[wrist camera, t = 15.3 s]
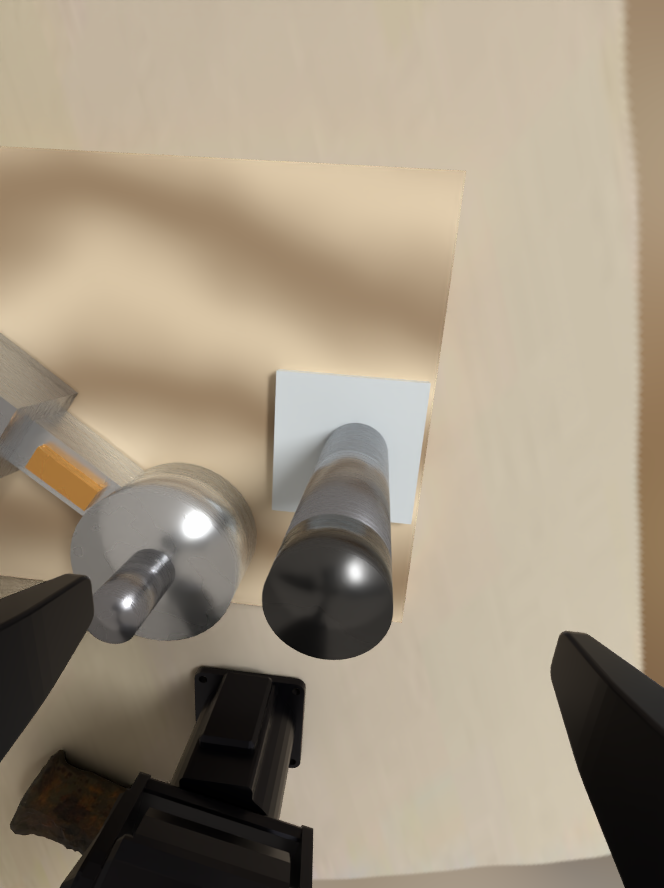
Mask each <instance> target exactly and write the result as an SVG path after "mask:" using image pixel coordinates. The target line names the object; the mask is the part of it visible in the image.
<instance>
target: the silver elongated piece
mask: <svg viewBox="0 0 664 888" xmlns="http://www.w3.org/2000/svg"><path fill="white" fill-rule="evenodd" d="M77 394H78V392H76V391H75V390H74V389H72V388H71V387H70V386H69V385H67V384H66V383H65V382H63V381H62V380H61V379H60V378H58V377H57V376H56V375H54V374H53V373H52V372H51V371H49V370H48V369H47V368H45V367H44V366H43V365H42V364H40V363H39V362H38V361H36V360H35V359H34V358H32V357H31V356H30V355H29V354H27V353H26V352H25V351H23V350H22V349H21V348H20V347H18V346H17V345H16V344H14V343H13V342H12V341H11V340H9V339H8V338H7V337H5V336H4V335H3V334H2V333H0V478H3V477H5V476H7V475H9V474H12V473H14V472H16V471H19V470H21V471H22V472H24V473H25V474H26V475H28V476H29V477H31V478H32V479H33V480H35V481H36V482H37V483H39V484H40V485H41V486H43V487H44V488H45V489H47V490H48V491H50V492H51V493H52V494H54V495H55V496H56V497H58V498H59V499H60V500H62V501H63V502H65V503H66V504H67V505H69V506H70V507H71V508H73V509H74V510H75V511H77V512H78V513H79V514H81V515H82V516H83V517H82V518H81V519H80V521H79V523H78V524H77V526H76V528H75V531H74V533H73V536H72V541H71V549H70V557H71V565H72V570H73V574H80V575H86V576H88V577H89V578H90V580H91V584H92V593H93V602H94V617H93V620H92V623H91V625H90V626H89V628H88V631H89V632H90V633H91V634H92V635H93V636H94V637H96V638H97V639H99V640H101V641H104V642H107V643H112V644H119V643H124V642H126V641H128V640H130V639H131V638H132V637H133V636H134V635H137V636H140V637H144V638H148V639H154V640H165V641H170V640H181V639H186V638H190V637H193V636H196V635H198V634H200V633H202V632H204V631H206V630H207V629H209V628H210V627H212V626H213V625H214V624H215V623H216V622H218V621H219V620H220V618H221V617H222V616H223V615H224V613H225V612H226V610H227V608H228V607H229V605H230V603H231V601H232V599H233V597H234V595H235V592H236V590H237V588H238V586H239V584H240V582H241V580H242V578H243V576H244V574H245V572H246V570H247V568H248V566H249V564H250V562H251V560H252V557H253V555H254V552H255V547H256V540H257V533H256V525H255V520H254V517H253V514H252V511H251V509H250V507H249V505H248V503H247V502H246V500H245V499H244V497H243V496H242V494H241V493H240V492H239V491H238V490H237V489H236V488H235V486H233V485H232V484H231V483H230V482H229V481H228V480H226V479H225V478H223V477H222V476H221V475H219V474H217V473H215V472H213V471H212V470H209V469H207V468H204V467H202V466H198V465H194V464H189V463H166V464H161V465H157V466H154V467H152V468H149V469H147V470H146V471H144V470H143V469H142V468H141V467H139V466H138V465H137V464H135V463H134V462H133V461H131V460H130V459H129V458H127V457H126V456H125V455H124V454H122V453H121V452H120V451H118V450H117V449H116V448H114V447H113V446H112V445H111V444H109V443H108V442H107V441H105V440H104V439H103V438H101V437H100V436H99V435H98V434H96V433H95V432H94V431H92V430H91V429H90V428H88V427H87V426H86V425H85V424H83V423H82V422H81V421H79V420H78V419H77V418H75V417H74V416H73V415H71V414H70V413H69V412H68V411H67V410H68V408H69V407H70V405H71V403H72V402H73V400H74V399H75V397H76V396H77Z"/></svg>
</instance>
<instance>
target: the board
mask: <svg viewBox="0 0 664 888" xmlns="http://www.w3.org/2000/svg"><path fill="white" fill-rule="evenodd" d="M465 176H466V171H460V170H441V169H422V168H403V167H384V166H365V165H346V164H327V163H308V162H289V161H269V160H250V159H231V158H212V157H193V156H174V155H155V154H136V153H117V152H98V151H79V150H60V149H41V148H22V147H3V146H0V333H2V334H3V335H4V336H5V337H7V338H8V339H9V340H11V341H12V342H13V343H14V344H16V345H17V346H18V347H20V348H21V349H22V350H23V351H25V352H26V353H27V354H29V355H30V356H31V357H32V358H34V359H35V360H36V361H38V362H39V363H40V364H42V365H43V366H44V367H45V368H47V369H48V370H49V371H51V372H52V373H53V374H54V375H56V376H57V377H58V378H60V379H61V380H62V381H63V382H65V383H66V384H67V385H69V386H70V387H71V388H72V389H74V390H75V391H76V392H78V394H77V396H76V397H75V399H74V400H73V402H72V403H71V405H70V407H69V408H68V410H67V411H68V412H69V413H70V414H71V415H73V416H74V417H75V418H77V419H78V420H79V421H81V422H82V423H83V424H85V425H86V426H87V427H88V428H90V429H91V430H92V431H94V432H95V433H96V434H98V435H99V436H100V437H101V438H103V439H104V440H105V441H107V442H108V443H109V444H111V445H112V446H113V447H114V448H116V449H117V450H118V451H120V452H121V453H122V454H124V455H125V456H126V457H127V458H129V459H130V460H131V461H133V462H134V463H135V464H137V465H138V466H139V467H141V468H142V469H143V470H144V471H146V470H147V469H149V468H152V467H154V466H157V465H161V464H166V463H189V464H194V465H198V466H202V467H204V468H207V469H209V470H212V471H213V472H215V473H217V474H219V475H221V476H222V477H223V478H225V479H226V480H228V481H229V482H230V483H231V484H232V485H233V486H235V488H236V489H237V490H238V491H239V492H240V493H241V494H242V496H243V497H244V499H245V500H246V502H247V503H248V505H249V507H250V509H251V511H252V514H253V517H254V520H255V525H256V533H257V540H256V547H255V552H254V555H253V557H252V560H251V562H250V564H249V566H248V568H247V570H246V572H245V574H244V576H243V578H242V580H241V582H240V584H239V586H238V588H237V590H236V592H235V595H234V597H233V599H232V601H231V603H239V604H247V605H256V606H262V591H263V587H264V583H265V581H266V578H267V576H268V574H269V572H270V569H271V567H272V565H273V562H274V560H275V558H276V555H277V553H278V551H279V549H280V546H281V544H282V542H283V539H284V537H285V535H286V532H287V530H288V528H289V526H290V523H291V521H292V519H293V516H294V514H295V512H287V511H277V510H272V488H273V458H274V427H275V396H276V371H277V370H278V369H286V370H298V371H310V372H322V373H334V374H346V375H358V376H370V377H382V378H394V379H406V380H418V381H429V382H430V383H431V386H430V393H429V400H428V407H427V414H426V422H425V429H424V436H423V443H422V450H421V458H420V465H419V472H418V479H417V486H416V493H415V501H414V508H413V515H412V522H411V524H403V523H393V522H391V552H392V582H393V617H392V622H400V623H402V617H403V610H404V603H405V596H406V589H407V582H408V575H409V568H410V561H411V554H412V547H413V540H414V533H415V526H416V519H417V512H418V505H419V498H420V491H421V484H422V477H423V470H424V463H425V456H426V449H427V442H428V435H429V428H430V421H431V414H432V407H433V400H434V393H435V386H436V379H437V372H438V365H439V358H440V351H441V344H442V337H443V330H444V323H445V316H446V309H447V302H448V295H449V288H450V281H451V274H452V267H453V260H454V253H455V246H456V239H457V232H458V225H459V218H460V211H461V204H462V197H463V190H464V183H465ZM82 517H83V516H82V515H81V514H79V513H78V512H77V511H75V510H74V509H73V508H71V507H70V506H69V505H67V504H66V503H65V502H63V501H62V500H60V499H59V498H58V497H56V496H55V495H54V494H52V493H51V492H50V491H48V490H47V489H45V488H44V487H43V486H41V485H40V484H39V483H37V482H36V481H35V480H33V479H32V478H31V477H29V476H28V475H26V474H25V473H24V472H22V471H21V470H19V471H16V472H14V473H12V474H9V475H7V476H5V477H3V478H0V575H1V576H10V577H18V578H27V579H35V580H44V581H48V580H51V579H53V578H56V577H58V576H61V575H64V574H68V573H71V574H73V570H72V565H71V557H70V549H71V541H72V536H73V533H74V531H75V528H76V526H77V524H78V523H79V521H80V519H81V518H82Z"/></svg>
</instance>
